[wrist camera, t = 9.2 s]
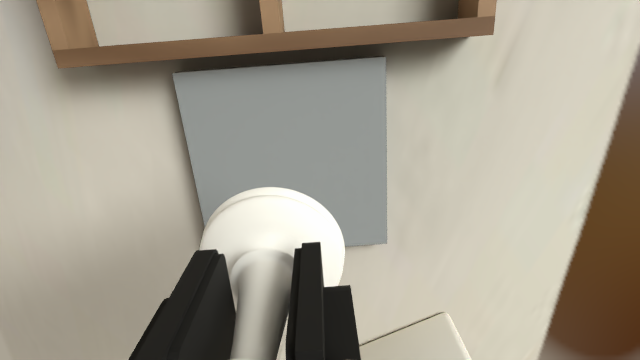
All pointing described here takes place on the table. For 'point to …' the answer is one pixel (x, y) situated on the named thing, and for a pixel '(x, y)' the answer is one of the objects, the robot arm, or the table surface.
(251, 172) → the pad
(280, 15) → the bay frame
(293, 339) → the robot arm
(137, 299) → the table surface
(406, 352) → the medicine bottle
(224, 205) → the chess piece
